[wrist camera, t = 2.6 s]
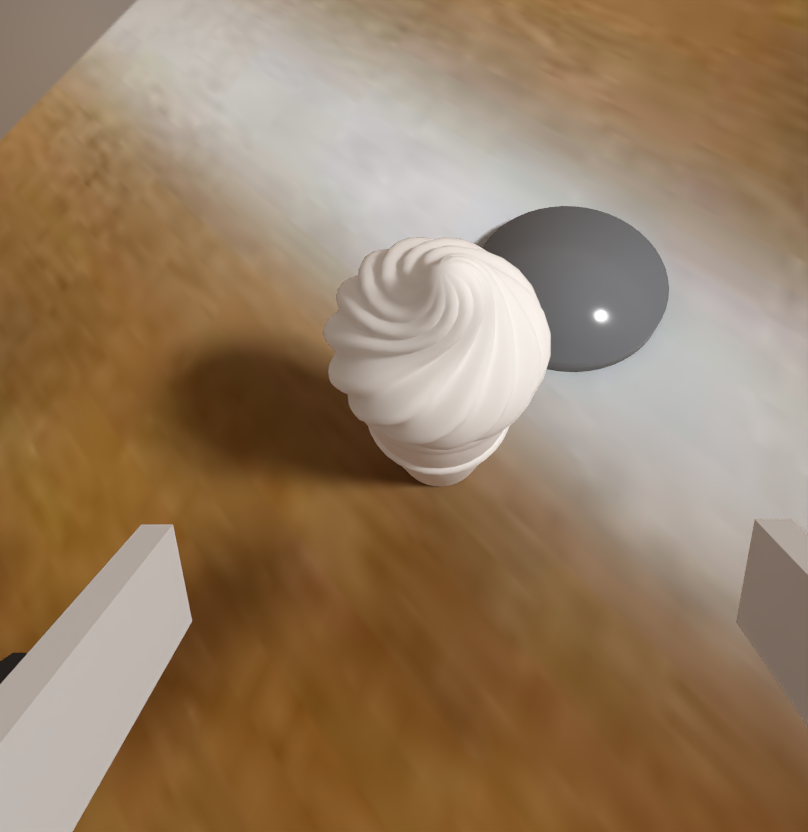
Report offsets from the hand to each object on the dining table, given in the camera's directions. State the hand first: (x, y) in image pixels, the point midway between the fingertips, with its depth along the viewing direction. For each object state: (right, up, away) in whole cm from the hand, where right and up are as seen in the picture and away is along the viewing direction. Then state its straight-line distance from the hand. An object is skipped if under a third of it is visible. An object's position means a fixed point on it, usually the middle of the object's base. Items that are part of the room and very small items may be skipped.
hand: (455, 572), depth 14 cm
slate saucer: (+8, +11, +22) cm, 26 cm away
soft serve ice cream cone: (+1, +2, +19) cm, 19 cm away
